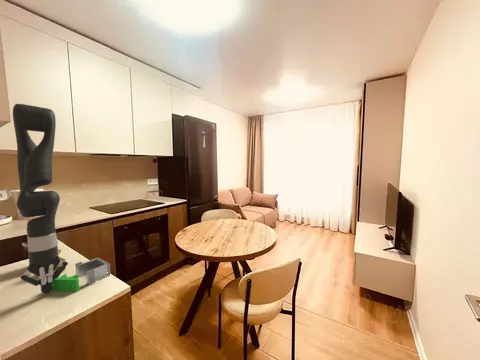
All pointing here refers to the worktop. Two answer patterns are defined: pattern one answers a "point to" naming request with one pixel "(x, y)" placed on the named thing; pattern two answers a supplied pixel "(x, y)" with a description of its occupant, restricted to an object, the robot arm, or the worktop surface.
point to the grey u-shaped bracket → (93, 270)
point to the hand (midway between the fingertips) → (47, 292)
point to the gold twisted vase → (61, 260)
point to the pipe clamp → (66, 283)
